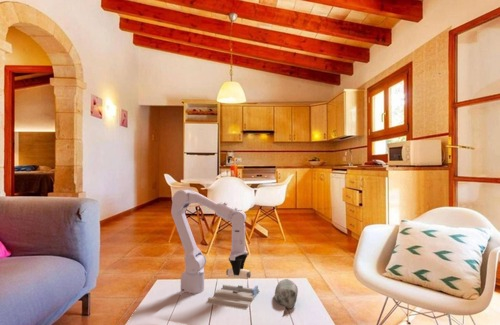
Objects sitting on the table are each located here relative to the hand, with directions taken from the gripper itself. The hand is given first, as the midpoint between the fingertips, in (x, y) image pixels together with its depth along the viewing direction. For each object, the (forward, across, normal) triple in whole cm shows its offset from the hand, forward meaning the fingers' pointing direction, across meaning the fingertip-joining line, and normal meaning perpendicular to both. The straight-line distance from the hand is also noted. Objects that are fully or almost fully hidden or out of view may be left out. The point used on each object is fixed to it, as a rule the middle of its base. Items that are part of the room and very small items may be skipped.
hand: (238, 273), depth 124 cm
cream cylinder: (+2, 0, 0) cm, 2 cm away
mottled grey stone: (+10, +1, -20) cm, 22 cm away
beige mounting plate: (+10, -4, 0) cm, 10 cm away
